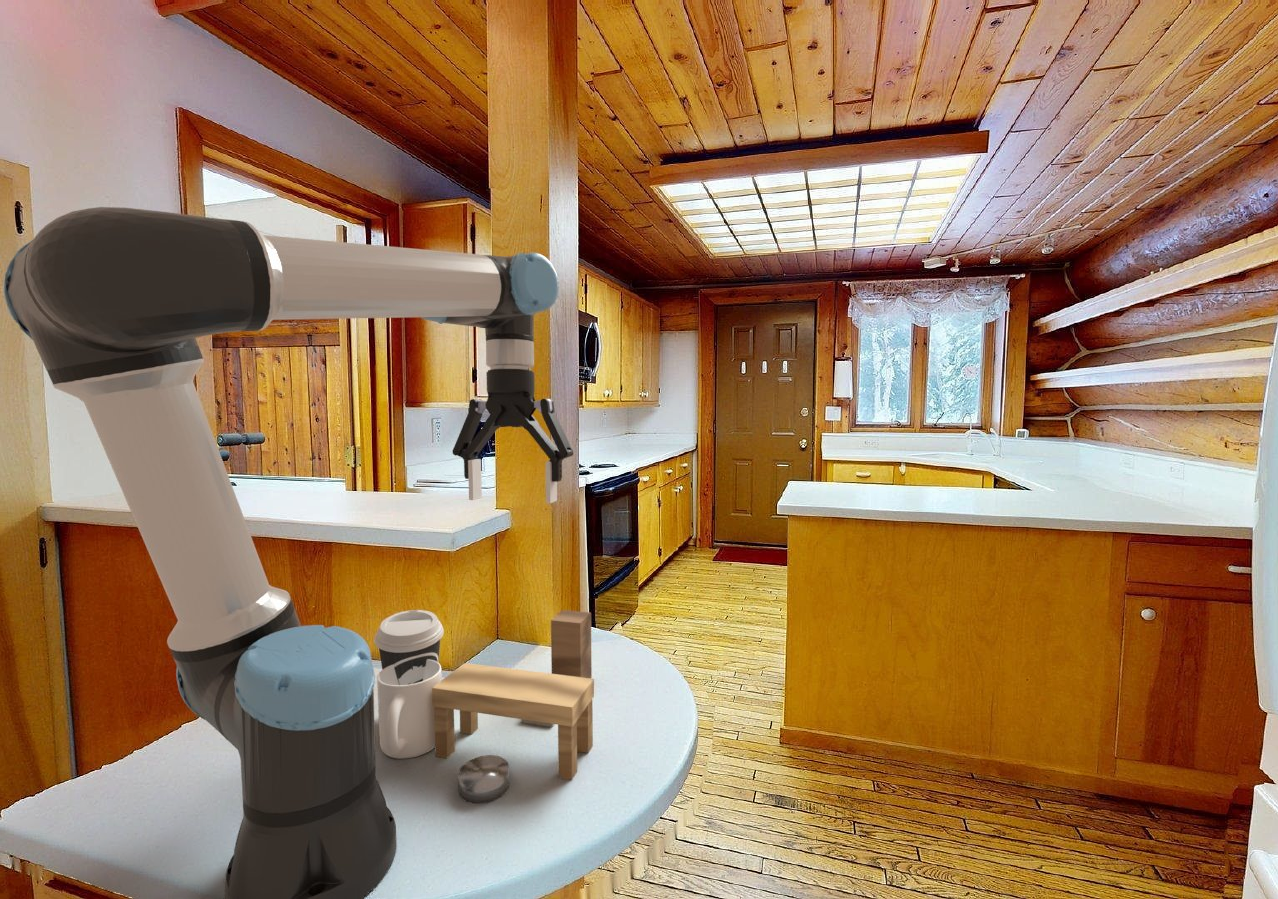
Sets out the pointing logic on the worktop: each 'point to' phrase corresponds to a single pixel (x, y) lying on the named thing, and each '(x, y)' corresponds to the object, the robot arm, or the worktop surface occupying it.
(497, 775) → the token
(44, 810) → the worktop surface
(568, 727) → the riser
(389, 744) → the mug
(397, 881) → the worktop surface
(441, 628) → the coffee cup
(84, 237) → the robot arm
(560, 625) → the brown l-shaped block
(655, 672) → the worktop surface
